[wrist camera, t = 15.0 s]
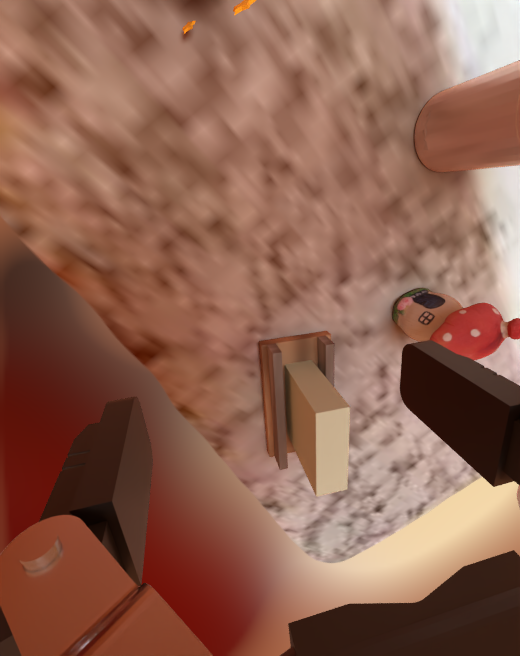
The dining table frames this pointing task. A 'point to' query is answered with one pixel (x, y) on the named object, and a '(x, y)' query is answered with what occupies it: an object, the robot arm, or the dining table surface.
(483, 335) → the decorative ornament
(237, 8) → the gift box
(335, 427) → the door panel
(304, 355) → the door track
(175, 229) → the dining table surface
